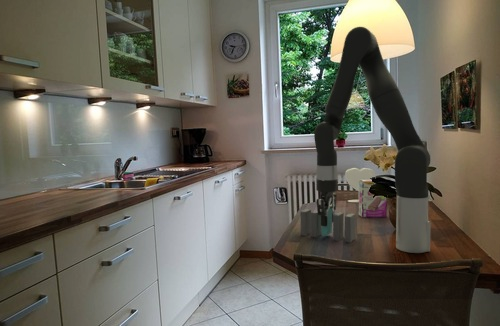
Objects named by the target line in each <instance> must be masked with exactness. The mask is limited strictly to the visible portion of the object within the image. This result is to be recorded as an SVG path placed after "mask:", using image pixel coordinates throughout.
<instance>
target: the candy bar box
mask: <svg viewBox="0 0 500 326" xmlns="http://www.w3.org/2000/svg"><path fill="white" fill-rule="evenodd" d="M373 184H374V183H373V182H372V180H359V202H358V216H359V217H360V218H362V219H363V218H365V219H366V218H367V219H370V218H372V219H373V218H387V209H388V207H387V206H388V197H387V198H386V197H384V196H375V197H374V198H373V196H374V195H373V194H371V193H370V192H369V189H370V187H371V185H373Z"/></svg>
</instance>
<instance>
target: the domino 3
mask: <svg viewBox="0 0 500 326" xmlns="http://www.w3.org/2000/svg"><path fill="white" fill-rule="evenodd" d="M325 211H326V210H325ZM322 212H323V210H322ZM327 219H328V225H327V226H326V227H325V226H322V234H321V235H322V236H328V235H330V234H331V233H332V234H333V223H332V208H330V209H329V210H328V215H327Z"/></svg>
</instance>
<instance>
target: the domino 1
mask: <svg viewBox="0 0 500 326" xmlns="http://www.w3.org/2000/svg"><path fill="white" fill-rule="evenodd" d="M311 212H312V208H311V209H310V208H305V209H303V210H301V211H300V236H305V237H307V236H308V235H310V234H311Z"/></svg>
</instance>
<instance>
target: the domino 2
mask: <svg viewBox="0 0 500 326" xmlns="http://www.w3.org/2000/svg"><path fill="white" fill-rule="evenodd" d="M310 234H311V235H310V237H311V238H318V237H320V236H321V235H322V226H321V216H320V215H318V211H317V209H315V210H313V211H311V233H310Z"/></svg>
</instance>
